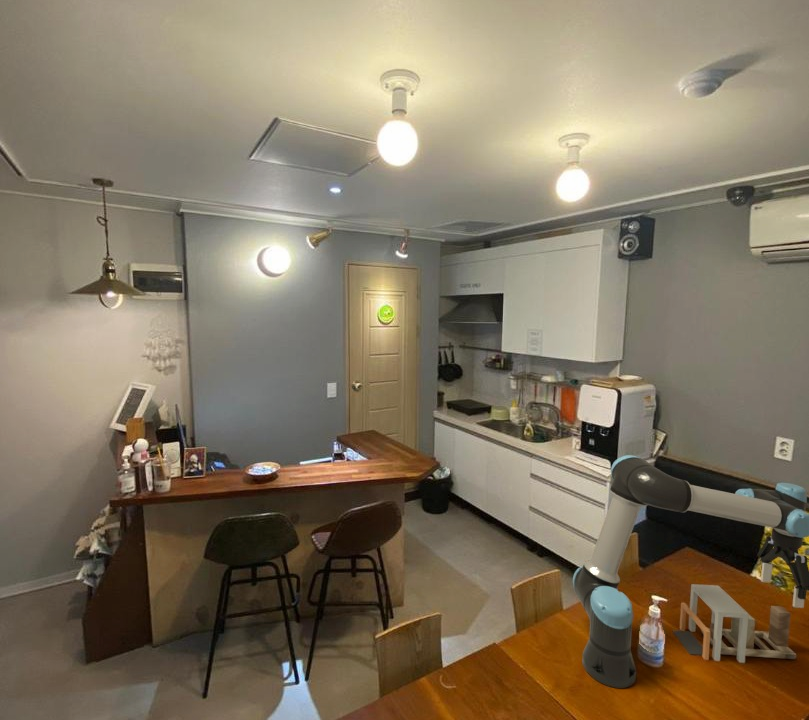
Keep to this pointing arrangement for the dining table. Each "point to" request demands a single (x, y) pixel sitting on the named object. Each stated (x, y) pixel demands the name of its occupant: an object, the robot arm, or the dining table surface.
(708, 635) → the grey and orange stand
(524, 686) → the dining table surface
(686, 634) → the pit mat
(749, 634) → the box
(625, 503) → the robot arm
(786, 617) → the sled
